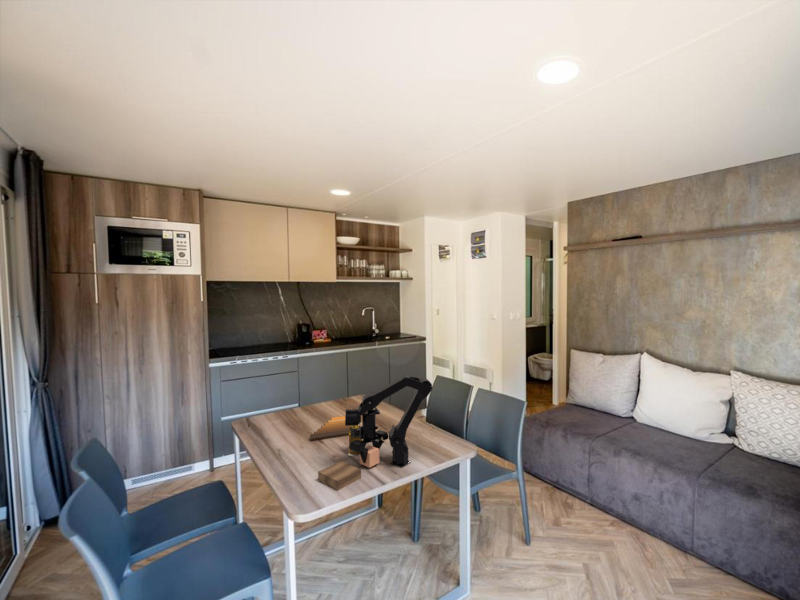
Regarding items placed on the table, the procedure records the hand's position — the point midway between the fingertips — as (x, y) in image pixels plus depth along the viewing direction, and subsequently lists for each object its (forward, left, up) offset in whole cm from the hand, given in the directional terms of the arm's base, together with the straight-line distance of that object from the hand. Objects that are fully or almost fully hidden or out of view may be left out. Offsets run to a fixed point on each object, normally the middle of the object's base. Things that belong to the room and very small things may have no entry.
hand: (369, 460), depth 159 cm
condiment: (+14, -6, -3) cm, 15 cm away
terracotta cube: (0, 0, -1) cm, 1 cm away
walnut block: (+1, +16, -3) cm, 16 cm away
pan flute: (+46, -17, -3) cm, 49 cm away
